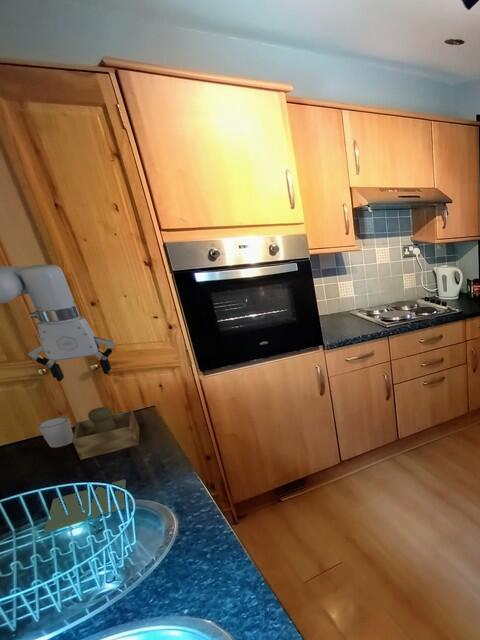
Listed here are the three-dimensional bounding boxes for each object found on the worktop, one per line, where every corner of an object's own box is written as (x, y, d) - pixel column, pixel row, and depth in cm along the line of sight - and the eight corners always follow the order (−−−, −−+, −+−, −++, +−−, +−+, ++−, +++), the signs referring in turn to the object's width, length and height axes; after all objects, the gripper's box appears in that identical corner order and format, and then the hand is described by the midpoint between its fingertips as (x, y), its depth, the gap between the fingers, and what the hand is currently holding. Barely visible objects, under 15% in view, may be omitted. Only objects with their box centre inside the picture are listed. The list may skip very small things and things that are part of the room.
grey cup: (48, 451, 132) (38, 430, 129) (45, 443, 136) (35, 422, 133) (79, 442, 137) (70, 421, 134) (75, 434, 141) (66, 414, 138)
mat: (45, 533, 101) (44, 531, 101) (54, 501, 111) (53, 499, 111) (124, 508, 109) (123, 506, 109) (126, 480, 119) (125, 478, 119)
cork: (122, 434, 140) (110, 402, 136) (125, 441, 136) (112, 409, 132) (97, 441, 136) (83, 409, 132) (99, 449, 132) (85, 416, 128)
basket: (80, 459, 128) (71, 440, 126) (85, 440, 138) (77, 422, 135) (138, 445, 135) (131, 426, 133) (139, 427, 145) (132, 410, 142)
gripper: (7, 322, 109) (37, 387, 116) (99, 313, 117) (122, 374, 124) (18, 315, 115) (46, 377, 122) (105, 307, 123) (126, 365, 130)
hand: (84, 375), depth 123 cm, fingers open, 9 cm apart
